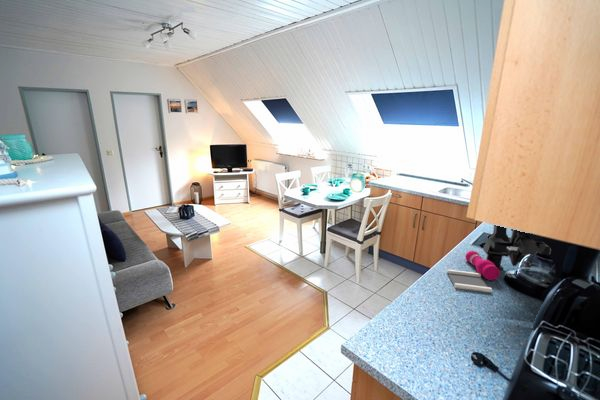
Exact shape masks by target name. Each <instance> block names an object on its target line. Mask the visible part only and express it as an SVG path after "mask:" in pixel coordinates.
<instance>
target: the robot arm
mask: <svg viewBox="0 0 600 400" xmlns="http://www.w3.org/2000/svg"><path fill="white" fill-rule="evenodd" d="M507 230H508V227H507V228H504V227H500V226H496V225H494V224H493V232H492V234H491V235H490V236H489V237H488V240H487V242H486V243H485V244H484V245H483V252H484V253H485V254H486V259H485V260H489V261H491V262H492V263H494V265H495V266H496V267H497V268H498V269H499V270H504V267H503V266H502V265H501V264H502V260H503V257H509V259H510V262H511V265H512V266H513V267H516V266H517V265H518V264H519V262H520V261H521V260H522V259H523V258H524V257H526V256H528V255H531V256H536V255H537V254H538V253H540V254H541V255H551V253H552V252H551V251H552V249H551V247H550V245H548V244H546V243H545V242H544V241H536V240H541V239H544V237H540V236H536V235H533V234H530V233H525V232H520V231H517V230H513V229H511V228H510V231H511V236H510V237H509V236H508V234H507ZM535 239H536V240H535Z"/></svg>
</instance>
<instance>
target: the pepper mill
mask: <svg viewBox="0 0 600 400" xmlns="http://www.w3.org/2000/svg"><path fill="white" fill-rule="evenodd" d="M465 260H466V261H467V262H468V263H470V264H472V265H473V266H475V270H476V271H477V272H476V273H480V274H481V277H484V278H485V279H486V280H490V281H492V280H496V279H497V278H498V277H499V276H500V272H501V271H500V269H498V268H497V267H496V266H495V265H494V263H492V262H491V261H489V260H486V259H483V257H482V256H481V254H479V252H477V251H476V250H475V251H474V250H470V251H467V252H466V254H465Z"/></svg>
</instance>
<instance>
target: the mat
mask: <svg viewBox="0 0 600 400" xmlns="http://www.w3.org/2000/svg"><path fill="white" fill-rule="evenodd" d="M446 274H447V276H448V279H449V280H450V283H451V284H452V286H453V287H454V289H458V290H465V291H466V290H467V291H474V292H479V293H486V294H489V293H490V294H491V293H492V291H493V289H492V287H490V286H487V285H488V284H486V282H485V281H484V279H483V278H482V275H481V274H480V273H478V272H472V271H462V270H455V269H454V270H453V269H447V270H446Z"/></svg>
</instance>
